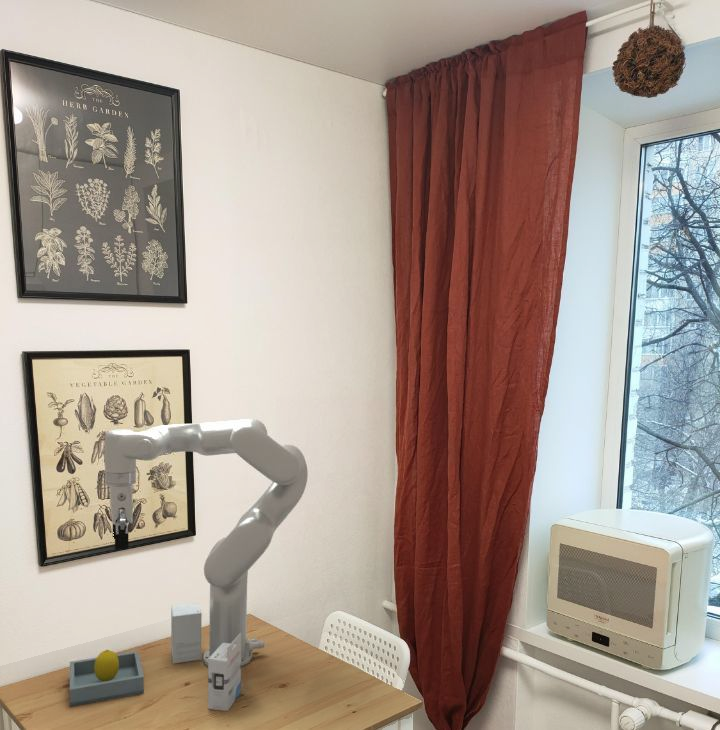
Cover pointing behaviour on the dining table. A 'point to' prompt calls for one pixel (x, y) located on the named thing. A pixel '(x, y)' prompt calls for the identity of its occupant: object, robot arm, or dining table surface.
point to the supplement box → (186, 632)
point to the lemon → (106, 665)
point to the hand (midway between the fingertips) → (120, 543)
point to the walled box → (94, 690)
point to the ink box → (224, 675)
